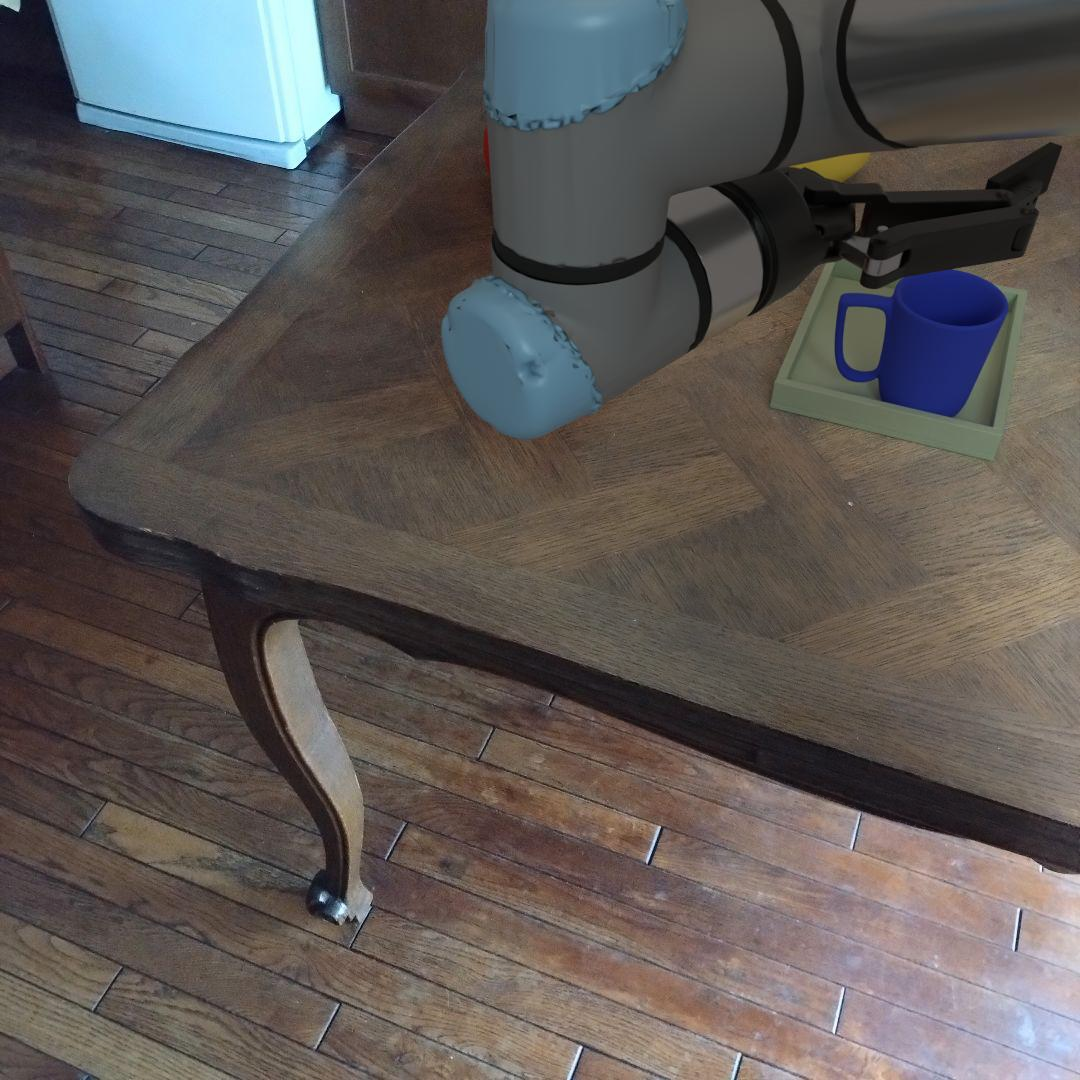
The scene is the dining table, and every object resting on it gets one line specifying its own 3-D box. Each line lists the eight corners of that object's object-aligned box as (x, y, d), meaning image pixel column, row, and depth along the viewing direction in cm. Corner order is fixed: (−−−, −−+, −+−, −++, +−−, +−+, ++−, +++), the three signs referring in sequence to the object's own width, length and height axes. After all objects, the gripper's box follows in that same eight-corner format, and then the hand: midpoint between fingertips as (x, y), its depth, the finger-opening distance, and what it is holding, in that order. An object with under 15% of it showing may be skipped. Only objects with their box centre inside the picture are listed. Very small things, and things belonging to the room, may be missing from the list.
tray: (992, 461, 82) (1003, 435, 80) (769, 407, 87) (774, 381, 85) (1019, 315, 96) (1028, 290, 94) (825, 275, 101) (830, 251, 99)
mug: (819, 362, 90) (843, 257, 83) (967, 378, 88) (1003, 273, 81) (817, 422, 84) (842, 315, 77) (975, 441, 83) (1014, 334, 76)
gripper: (547, 229, 63) (773, 123, 73) (902, 424, 50) (1118, 263, 60) (547, 104, 58) (791, 8, 68) (944, 287, 45) (1173, 135, 55)
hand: (945, 128), depth 64 cm, fingers open, 13 cm apart
